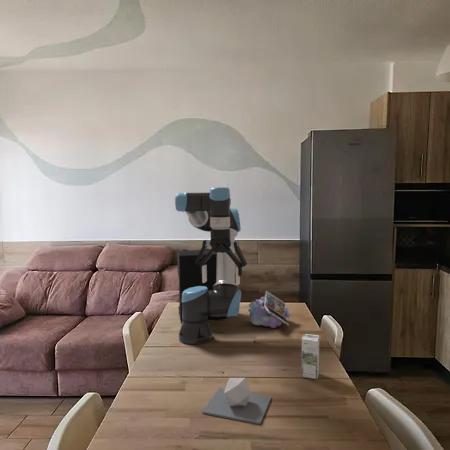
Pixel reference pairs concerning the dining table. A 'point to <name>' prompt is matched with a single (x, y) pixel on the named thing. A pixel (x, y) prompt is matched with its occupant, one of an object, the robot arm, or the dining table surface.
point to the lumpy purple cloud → (268, 311)
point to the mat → (238, 407)
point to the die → (237, 392)
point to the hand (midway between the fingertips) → (221, 283)
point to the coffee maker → (195, 274)
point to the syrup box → (310, 356)
